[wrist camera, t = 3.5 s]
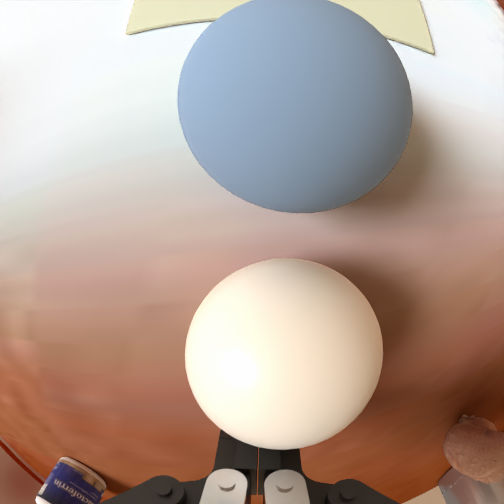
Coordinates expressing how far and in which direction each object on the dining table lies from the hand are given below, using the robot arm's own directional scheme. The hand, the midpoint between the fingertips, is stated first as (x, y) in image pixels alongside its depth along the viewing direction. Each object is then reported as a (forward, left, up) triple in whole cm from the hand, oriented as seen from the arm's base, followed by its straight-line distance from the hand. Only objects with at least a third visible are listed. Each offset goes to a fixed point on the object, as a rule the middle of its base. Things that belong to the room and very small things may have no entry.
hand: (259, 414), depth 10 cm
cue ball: (-1, -4, +1) cm, 4 cm away
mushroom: (-16, +6, -2) cm, 17 cm away
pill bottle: (+17, +18, -2) cm, 25 cm away
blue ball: (-1, -11, +1) cm, 12 cm away
